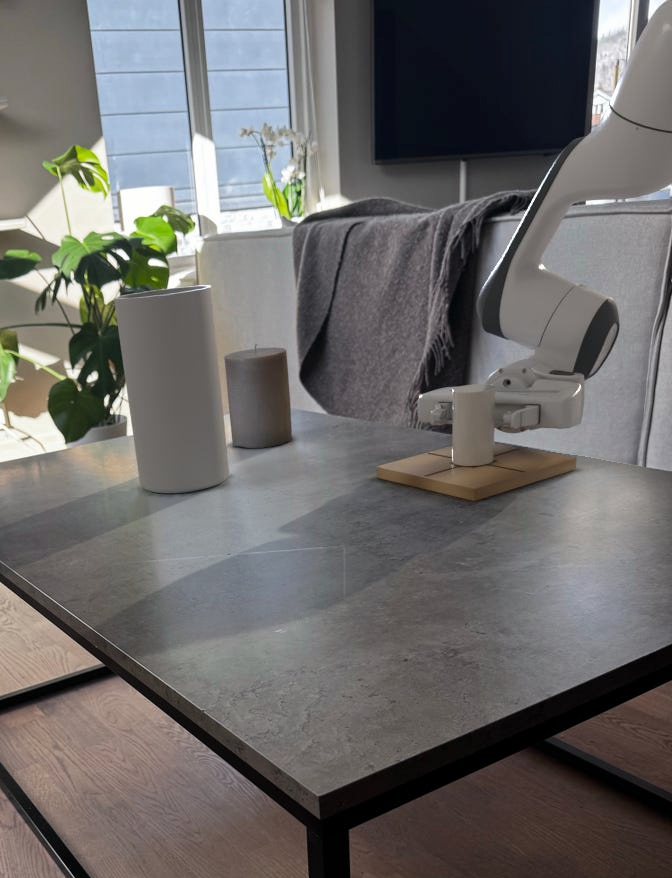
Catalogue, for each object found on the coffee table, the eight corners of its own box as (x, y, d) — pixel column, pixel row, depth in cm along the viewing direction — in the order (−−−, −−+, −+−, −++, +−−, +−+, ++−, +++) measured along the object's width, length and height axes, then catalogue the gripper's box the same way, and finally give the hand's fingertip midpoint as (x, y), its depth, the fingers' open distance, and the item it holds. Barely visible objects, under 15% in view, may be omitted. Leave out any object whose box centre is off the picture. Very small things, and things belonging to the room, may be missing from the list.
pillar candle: (292, 432, 149) (286, 336, 143) (293, 445, 140) (286, 344, 134) (233, 437, 150) (224, 343, 144) (230, 451, 142) (220, 351, 136)
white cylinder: (490, 454, 116) (492, 382, 113) (496, 464, 112) (498, 389, 108) (450, 457, 117) (450, 386, 114) (454, 467, 113) (454, 393, 109)
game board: (576, 469, 112) (576, 456, 111) (474, 501, 105) (474, 487, 104) (472, 450, 126) (472, 439, 125) (376, 477, 118) (376, 465, 118)
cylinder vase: (142, 499, 121) (114, 301, 111) (138, 477, 133) (113, 295, 123) (235, 487, 122) (216, 288, 112) (223, 466, 133) (205, 283, 123)
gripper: (444, 372, 126) (394, 392, 117) (597, 373, 113) (555, 395, 104) (444, 418, 129) (395, 441, 119) (593, 424, 116) (552, 450, 107)
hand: (471, 420), depth 112 cm, fingers open, 8 cm apart
